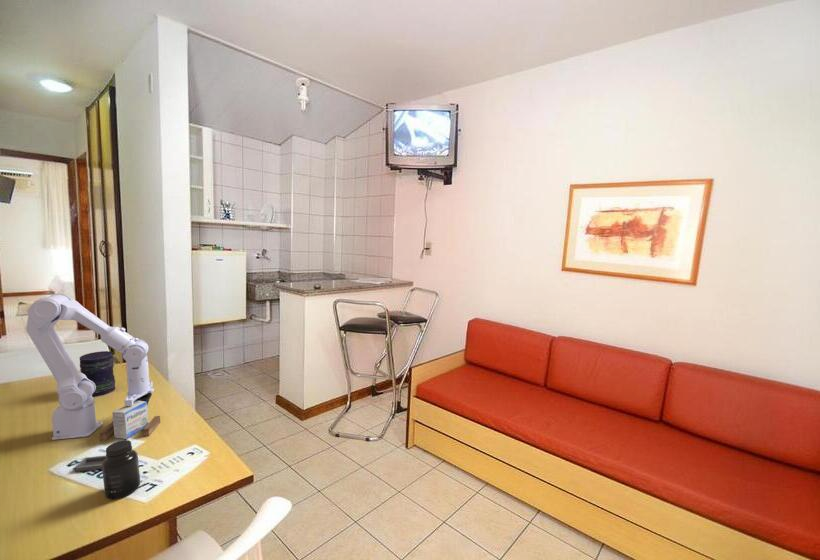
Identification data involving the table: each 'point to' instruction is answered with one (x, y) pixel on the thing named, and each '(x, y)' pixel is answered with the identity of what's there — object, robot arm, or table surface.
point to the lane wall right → (151, 426)
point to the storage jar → (99, 371)
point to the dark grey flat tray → (90, 463)
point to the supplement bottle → (120, 470)
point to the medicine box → (130, 419)
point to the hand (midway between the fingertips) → (141, 416)
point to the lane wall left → (107, 432)
